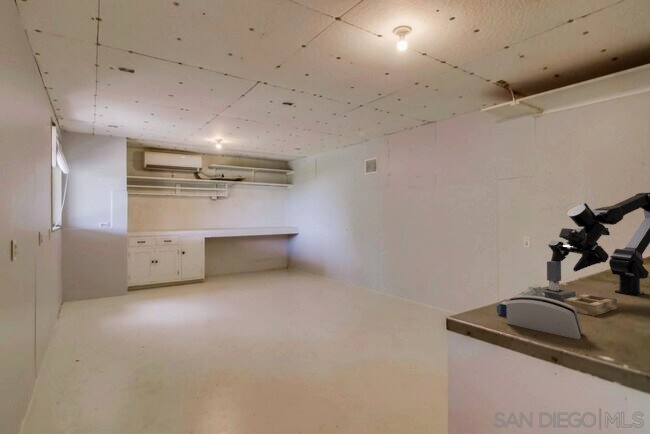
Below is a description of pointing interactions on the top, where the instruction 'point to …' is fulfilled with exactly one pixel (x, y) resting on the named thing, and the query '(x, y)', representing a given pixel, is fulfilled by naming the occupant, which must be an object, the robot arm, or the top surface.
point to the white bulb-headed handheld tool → (531, 291)
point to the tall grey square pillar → (554, 275)
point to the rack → (592, 304)
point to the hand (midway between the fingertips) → (562, 268)
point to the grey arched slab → (544, 315)
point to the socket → (558, 294)
